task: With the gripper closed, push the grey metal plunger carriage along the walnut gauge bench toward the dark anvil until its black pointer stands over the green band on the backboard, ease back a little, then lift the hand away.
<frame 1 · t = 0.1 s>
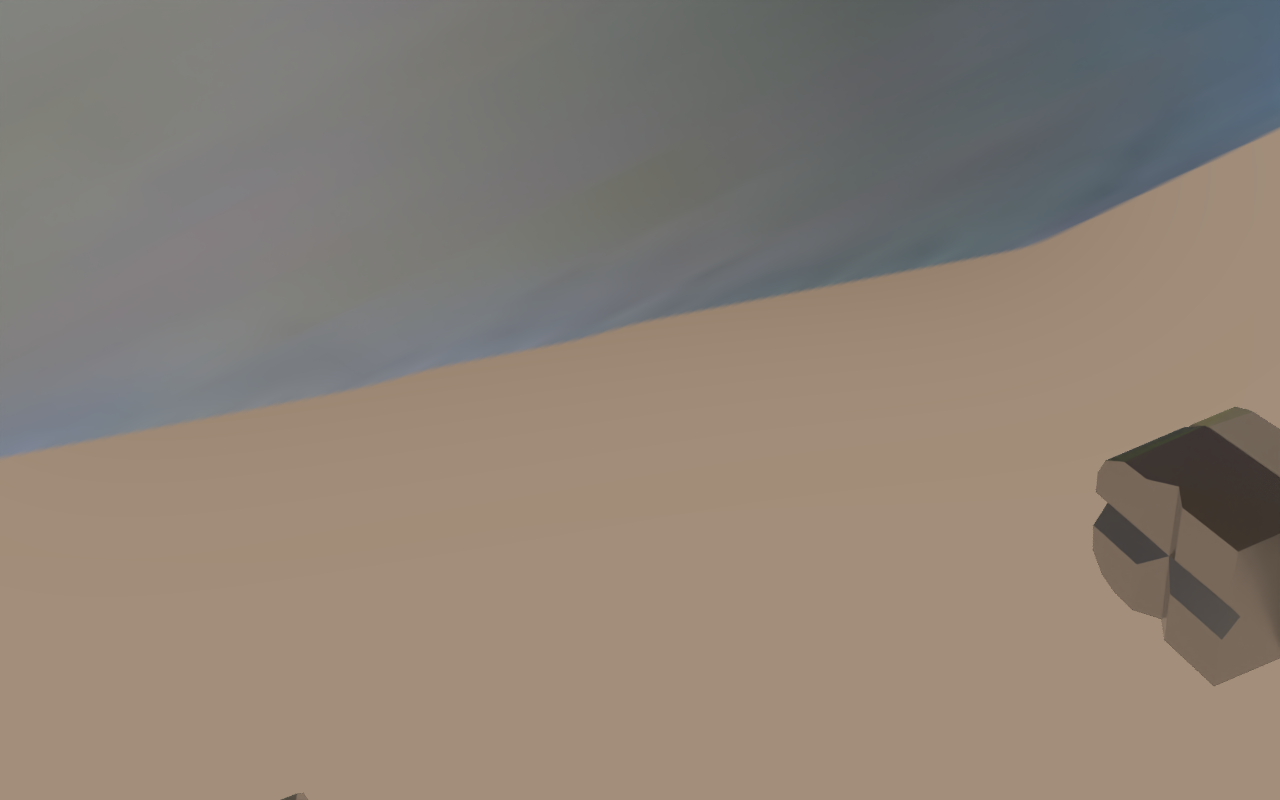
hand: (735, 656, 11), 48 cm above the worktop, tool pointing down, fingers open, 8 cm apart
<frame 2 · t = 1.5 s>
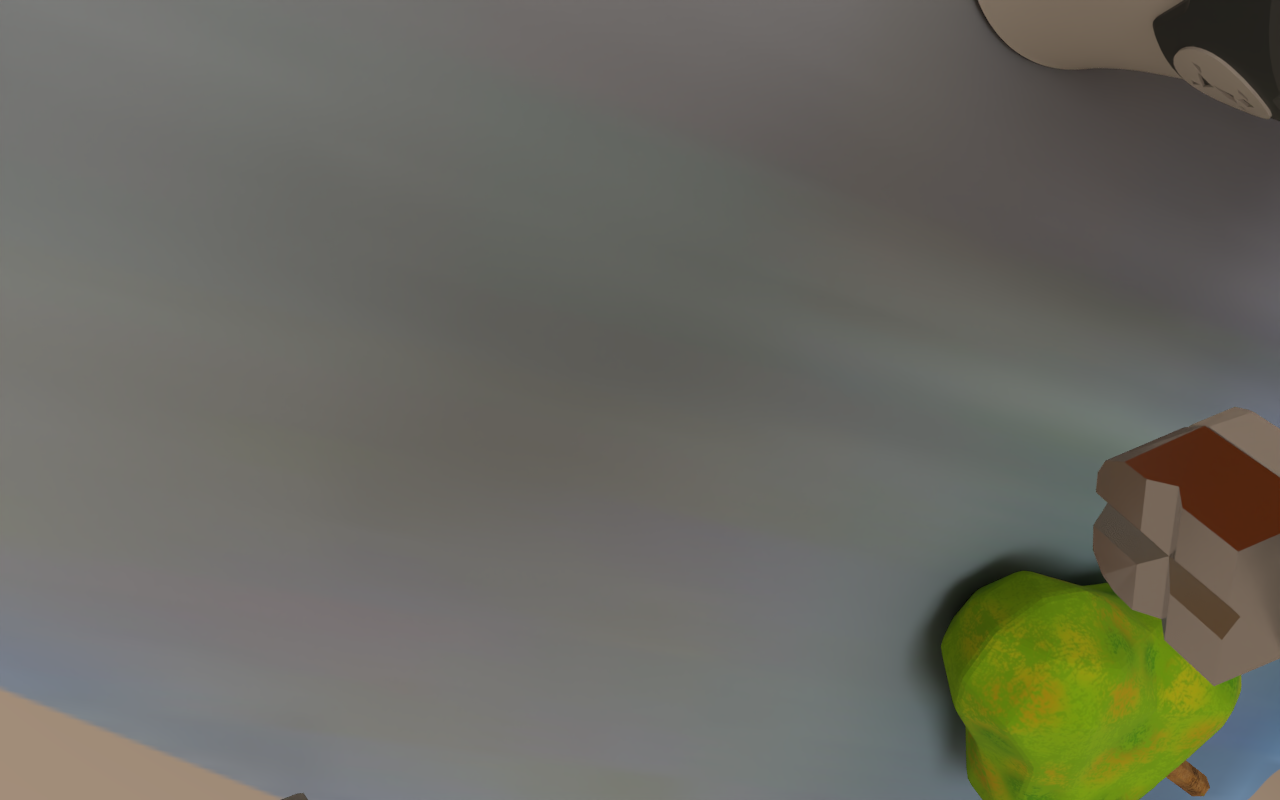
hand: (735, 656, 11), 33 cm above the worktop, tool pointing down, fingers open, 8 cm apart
green fruit: (1057, 657, 71), on the worktop
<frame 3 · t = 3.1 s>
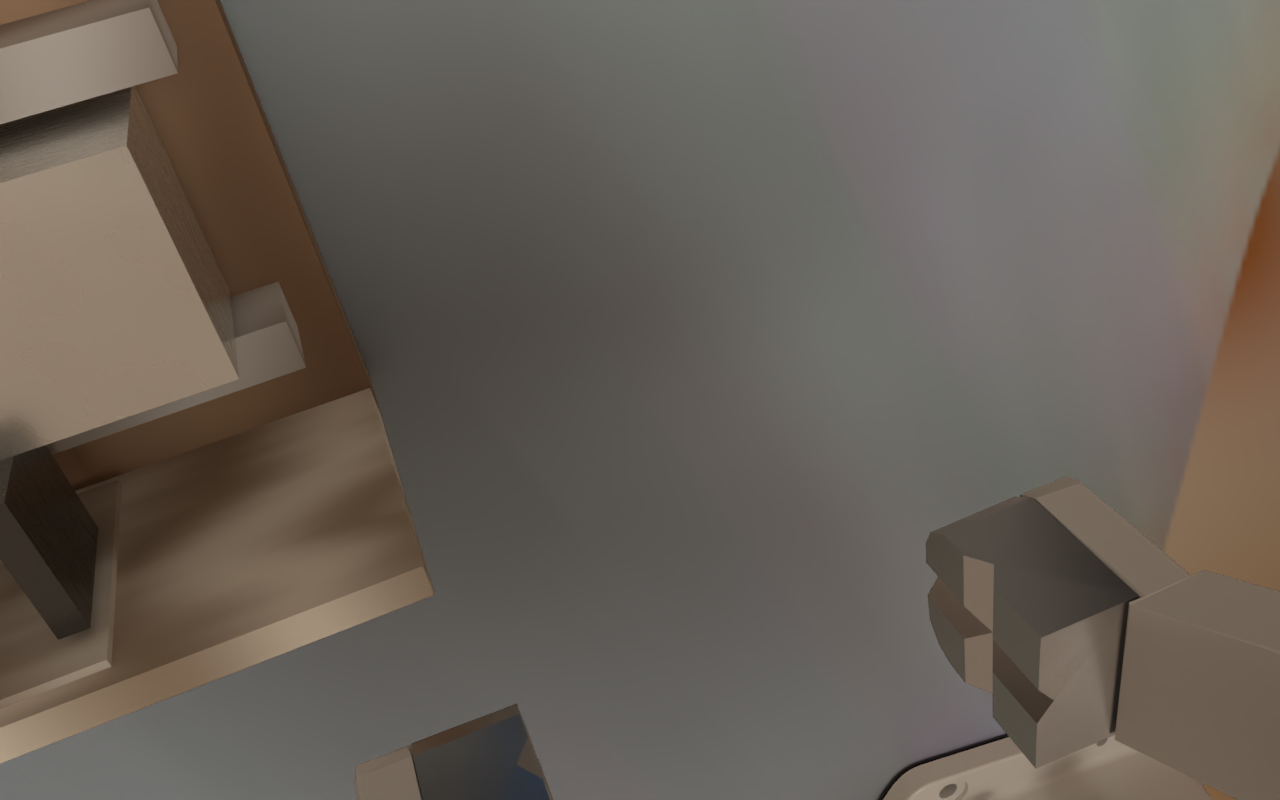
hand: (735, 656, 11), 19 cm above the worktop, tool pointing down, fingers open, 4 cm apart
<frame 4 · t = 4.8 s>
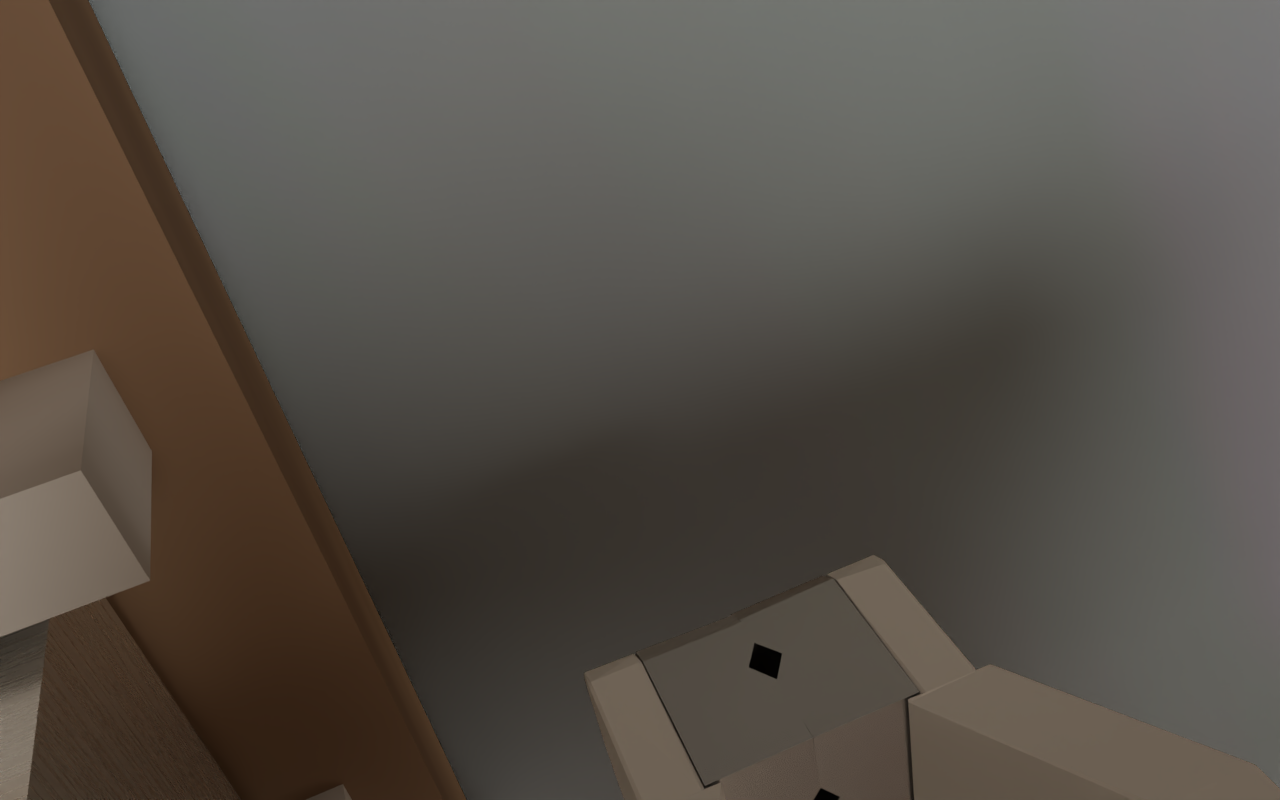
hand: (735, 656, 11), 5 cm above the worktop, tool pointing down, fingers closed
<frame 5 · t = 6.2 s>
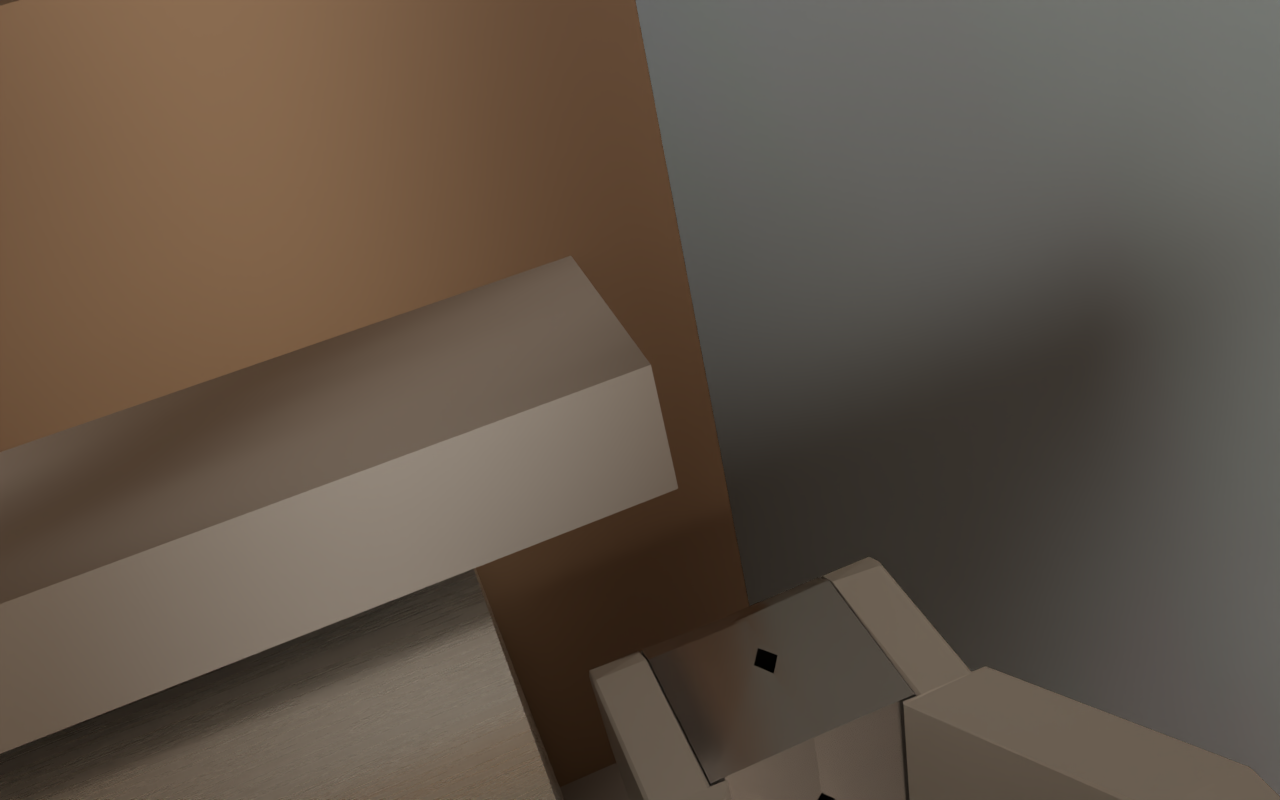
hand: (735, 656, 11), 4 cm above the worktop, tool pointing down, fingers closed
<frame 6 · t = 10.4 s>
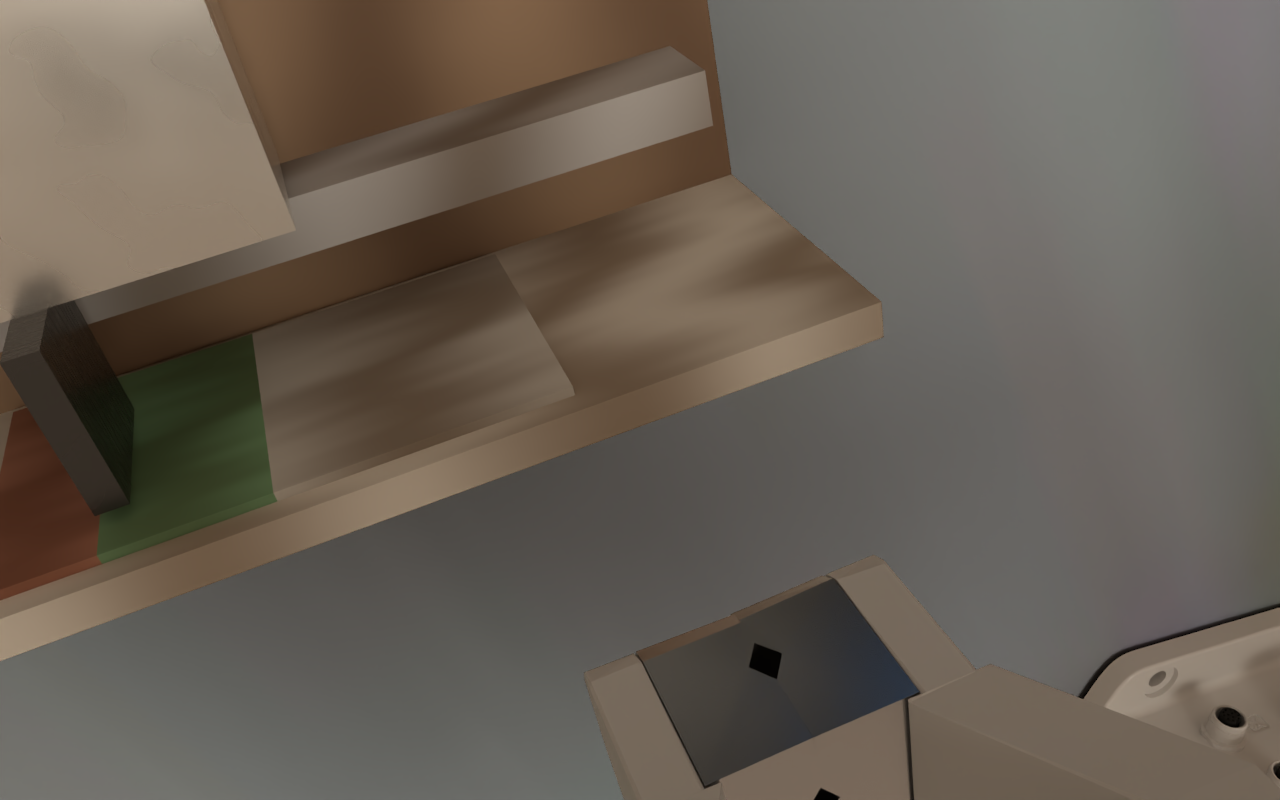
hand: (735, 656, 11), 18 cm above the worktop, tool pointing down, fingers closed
gauge bench: (58, 55, 22), on the worktop
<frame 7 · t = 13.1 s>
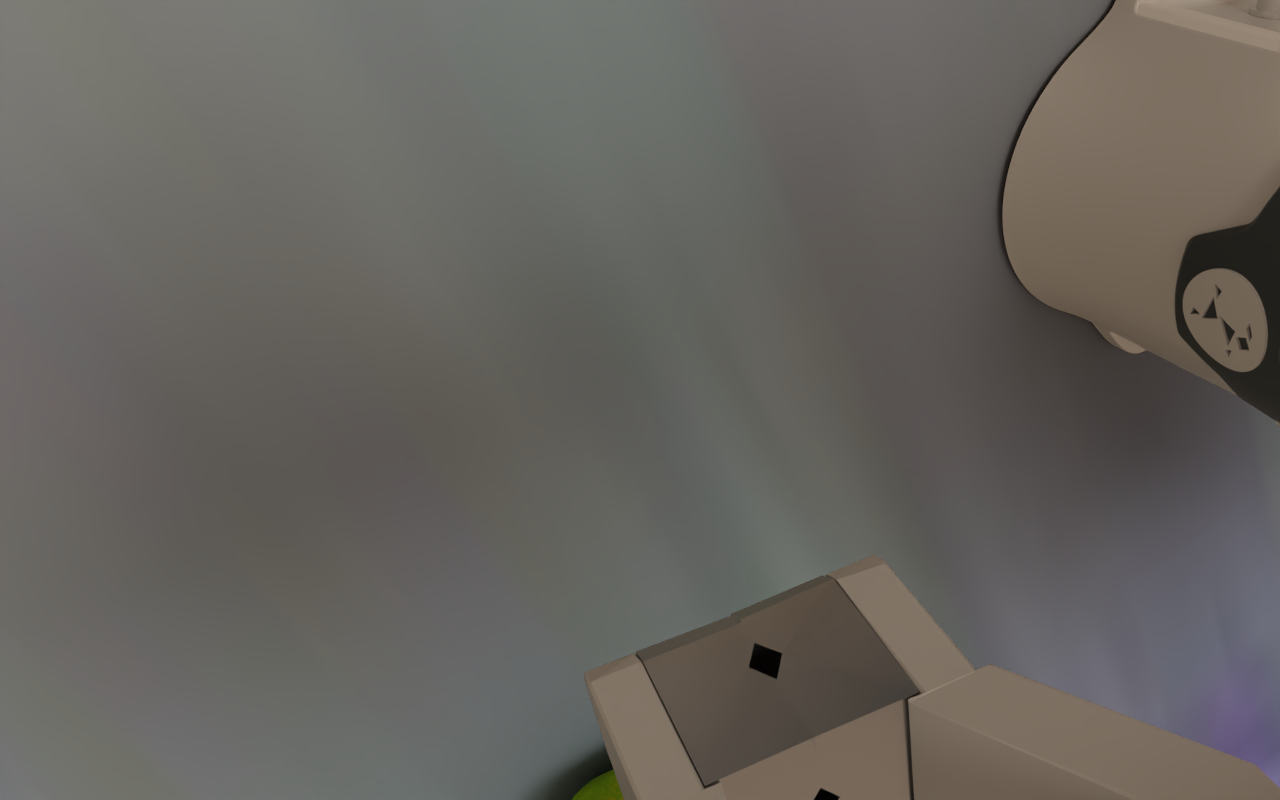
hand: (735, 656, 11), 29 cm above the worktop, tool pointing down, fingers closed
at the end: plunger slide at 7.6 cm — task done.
